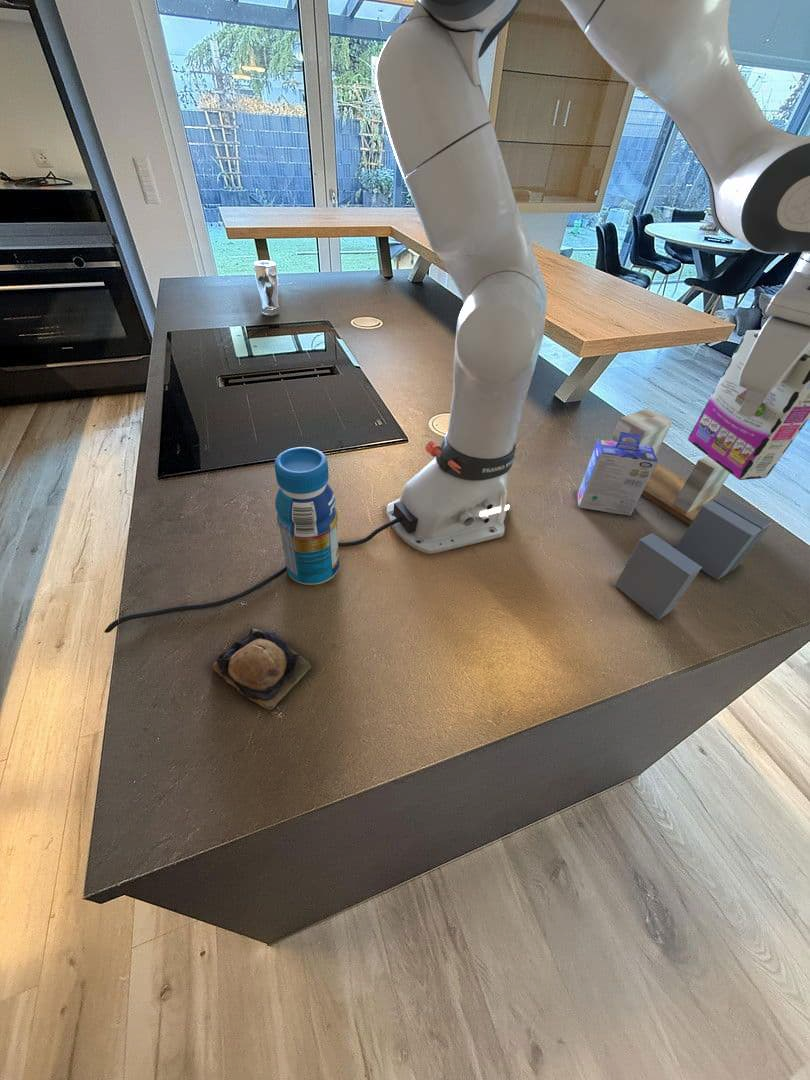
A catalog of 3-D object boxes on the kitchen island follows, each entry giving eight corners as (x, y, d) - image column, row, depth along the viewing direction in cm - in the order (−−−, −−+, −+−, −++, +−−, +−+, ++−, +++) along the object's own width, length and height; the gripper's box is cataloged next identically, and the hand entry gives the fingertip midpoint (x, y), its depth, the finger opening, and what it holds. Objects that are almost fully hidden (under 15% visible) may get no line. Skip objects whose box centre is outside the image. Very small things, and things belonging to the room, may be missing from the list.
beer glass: (257, 315, 155) (249, 264, 145) (265, 308, 160) (258, 259, 150) (277, 317, 155) (271, 266, 144) (284, 311, 160) (279, 261, 149)
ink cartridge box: (627, 499, 90) (659, 434, 80) (631, 517, 86) (666, 450, 76) (576, 491, 91) (601, 425, 81) (578, 508, 87) (605, 441, 77)
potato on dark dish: (315, 666, 60) (313, 650, 57) (267, 716, 55) (262, 701, 52) (258, 625, 64) (253, 609, 61) (207, 669, 59) (200, 653, 56)
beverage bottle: (274, 571, 71) (252, 462, 58) (311, 541, 77) (299, 435, 63) (315, 596, 68) (302, 487, 55) (351, 563, 74) (347, 457, 60)
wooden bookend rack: (695, 528, 85) (727, 479, 77) (597, 466, 99) (616, 418, 91) (727, 510, 90) (761, 461, 82) (629, 453, 103) (650, 406, 96)
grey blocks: (657, 620, 69) (689, 575, 62) (614, 585, 73) (639, 539, 66) (737, 566, 78) (772, 522, 71) (694, 538, 83) (723, 494, 76)
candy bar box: (768, 478, 64) (854, 361, 53) (738, 482, 63) (819, 363, 52) (712, 437, 72) (776, 327, 61) (685, 439, 71) (745, 328, 60)
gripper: (823, 275, 59) (760, 379, 69) (767, 299, 49) (701, 417, 58) (882, 288, 56) (807, 395, 65) (835, 316, 46) (754, 439, 55)
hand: (757, 406), depth 62 cm, fingers closed on candy bar box, 6 cm apart
